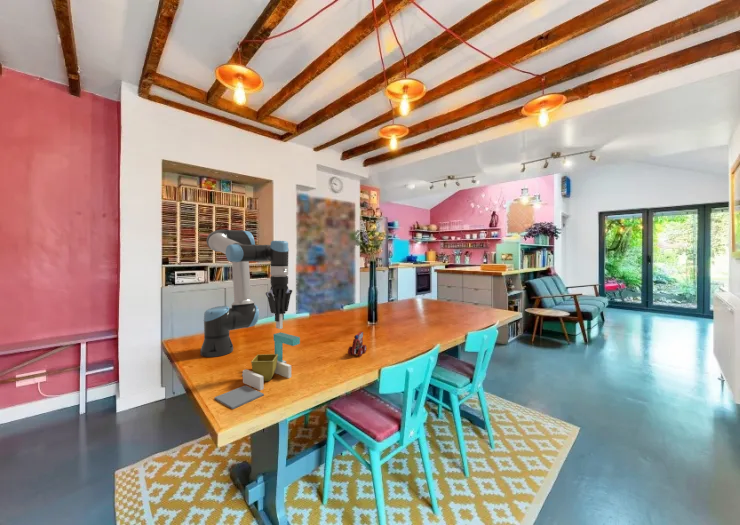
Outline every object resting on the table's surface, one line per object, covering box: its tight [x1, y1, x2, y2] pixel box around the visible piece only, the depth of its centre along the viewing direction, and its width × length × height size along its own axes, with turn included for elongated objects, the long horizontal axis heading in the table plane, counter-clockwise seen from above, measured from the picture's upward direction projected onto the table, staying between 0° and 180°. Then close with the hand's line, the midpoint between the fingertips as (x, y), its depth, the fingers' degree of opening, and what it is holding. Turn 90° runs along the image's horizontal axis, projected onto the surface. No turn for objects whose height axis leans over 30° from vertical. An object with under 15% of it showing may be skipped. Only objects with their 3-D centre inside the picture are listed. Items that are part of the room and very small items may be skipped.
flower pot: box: [250, 353, 278, 382], centre depth 124 cm, size 9×9×9 cm
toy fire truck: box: [347, 331, 367, 357], centre depth 156 cm, size 7×12×10 cm, turn 160°
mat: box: [213, 384, 265, 410], centre depth 109 cm, size 12×12×1 cm
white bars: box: [241, 359, 292, 391], centre depth 129 cm, size 18×24×5 cm
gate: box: [273, 331, 301, 362], centre depth 137 cm, size 14×4×14 cm, turn 55°
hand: (279, 328), depth 134 cm, fingers closed
